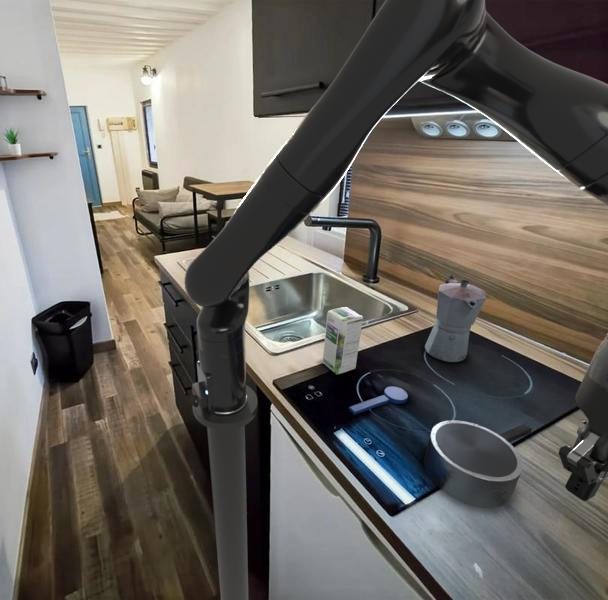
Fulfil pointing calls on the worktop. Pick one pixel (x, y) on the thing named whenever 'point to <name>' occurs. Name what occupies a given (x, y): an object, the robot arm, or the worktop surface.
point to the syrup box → (342, 339)
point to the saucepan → (474, 462)
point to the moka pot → (454, 319)
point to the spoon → (381, 400)
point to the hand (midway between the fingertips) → (578, 493)
